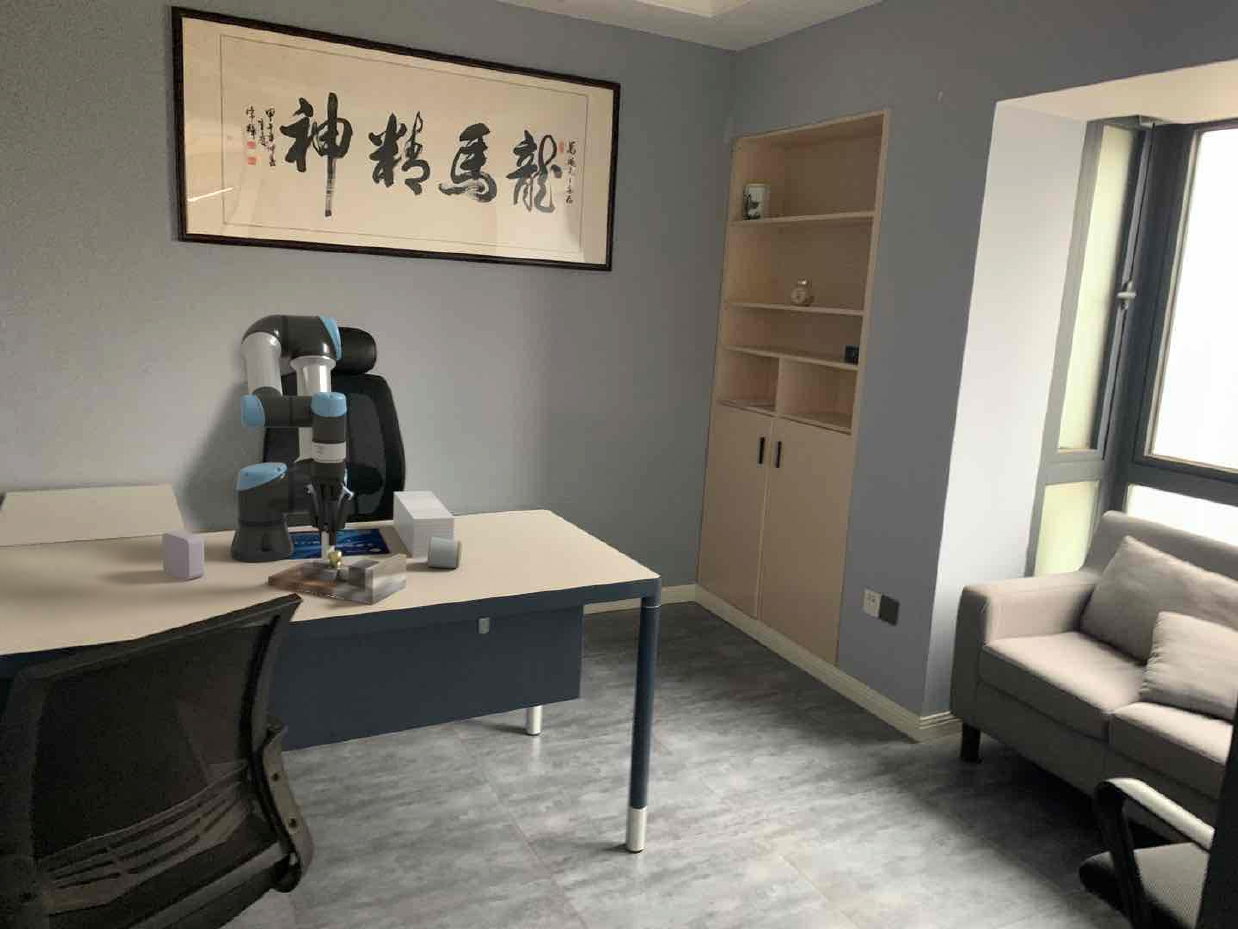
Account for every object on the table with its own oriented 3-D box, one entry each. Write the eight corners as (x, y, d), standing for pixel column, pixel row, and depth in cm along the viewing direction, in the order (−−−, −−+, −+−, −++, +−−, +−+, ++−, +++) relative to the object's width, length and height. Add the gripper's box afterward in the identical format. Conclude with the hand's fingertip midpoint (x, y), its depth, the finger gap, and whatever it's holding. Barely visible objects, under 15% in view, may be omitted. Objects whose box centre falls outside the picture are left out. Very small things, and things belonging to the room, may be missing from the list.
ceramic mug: (459, 571, 232) (460, 542, 230) (426, 570, 231) (427, 541, 229) (462, 560, 242) (463, 532, 241) (431, 559, 241) (431, 530, 240)
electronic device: (207, 577, 215) (206, 536, 214) (189, 581, 211) (188, 540, 210) (181, 568, 220) (180, 528, 218) (163, 572, 216) (162, 532, 214)
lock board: (268, 585, 213) (267, 552, 211) (305, 569, 226) (306, 537, 224) (372, 604, 204) (373, 570, 203) (405, 587, 218) (406, 554, 216)
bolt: (327, 577, 214) (327, 552, 213) (334, 574, 216) (334, 549, 215) (372, 585, 210) (372, 560, 209) (378, 581, 213) (378, 557, 212)
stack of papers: (393, 527, 270) (393, 491, 268) (429, 525, 274) (430, 490, 272) (413, 558, 241) (414, 519, 239) (453, 556, 245) (454, 517, 243)
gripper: (294, 458, 209) (294, 558, 213) (343, 465, 205) (342, 566, 209) (314, 454, 216) (314, 550, 220) (362, 460, 212) (361, 558, 216)
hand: (327, 558), depth 214 cm, fingers closed
